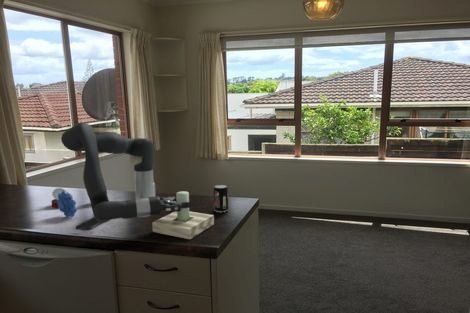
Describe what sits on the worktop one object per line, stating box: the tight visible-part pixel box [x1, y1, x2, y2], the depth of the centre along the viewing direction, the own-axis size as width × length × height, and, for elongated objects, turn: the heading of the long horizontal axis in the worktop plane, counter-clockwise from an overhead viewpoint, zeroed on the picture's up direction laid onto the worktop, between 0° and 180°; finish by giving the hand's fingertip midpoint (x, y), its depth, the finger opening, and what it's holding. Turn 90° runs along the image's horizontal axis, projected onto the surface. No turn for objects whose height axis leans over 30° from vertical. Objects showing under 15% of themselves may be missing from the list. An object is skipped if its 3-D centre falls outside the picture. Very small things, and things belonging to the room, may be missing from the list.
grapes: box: [57, 190, 78, 218], centre depth 164 cm, size 12×7×12 cm, turn 62°
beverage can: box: [213, 184, 229, 214], centre depth 170 cm, size 7×7×12 cm
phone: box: [75, 216, 104, 231], centre depth 157 cm, size 8×1×15 cm
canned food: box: [50, 187, 74, 209], centre depth 184 cm, size 11×10×10 cm
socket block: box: [152, 210, 215, 240], centre depth 149 cm, size 18×18×4 cm
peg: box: [175, 191, 190, 222], centre depth 148 cm, size 5×5×15 cm
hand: (187, 201), depth 149 cm, fingers open, 8 cm apart
